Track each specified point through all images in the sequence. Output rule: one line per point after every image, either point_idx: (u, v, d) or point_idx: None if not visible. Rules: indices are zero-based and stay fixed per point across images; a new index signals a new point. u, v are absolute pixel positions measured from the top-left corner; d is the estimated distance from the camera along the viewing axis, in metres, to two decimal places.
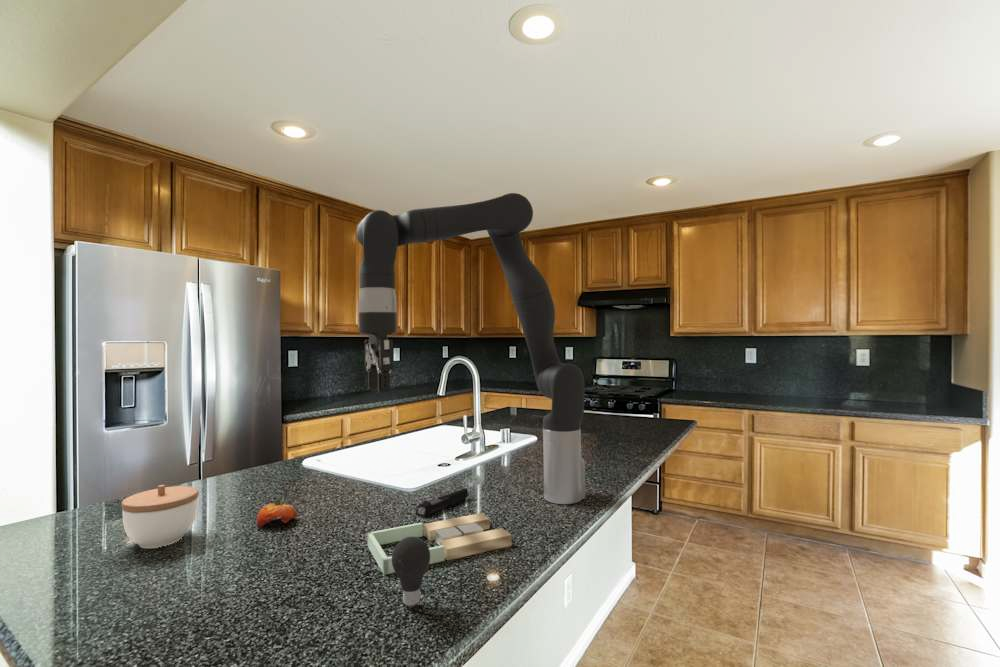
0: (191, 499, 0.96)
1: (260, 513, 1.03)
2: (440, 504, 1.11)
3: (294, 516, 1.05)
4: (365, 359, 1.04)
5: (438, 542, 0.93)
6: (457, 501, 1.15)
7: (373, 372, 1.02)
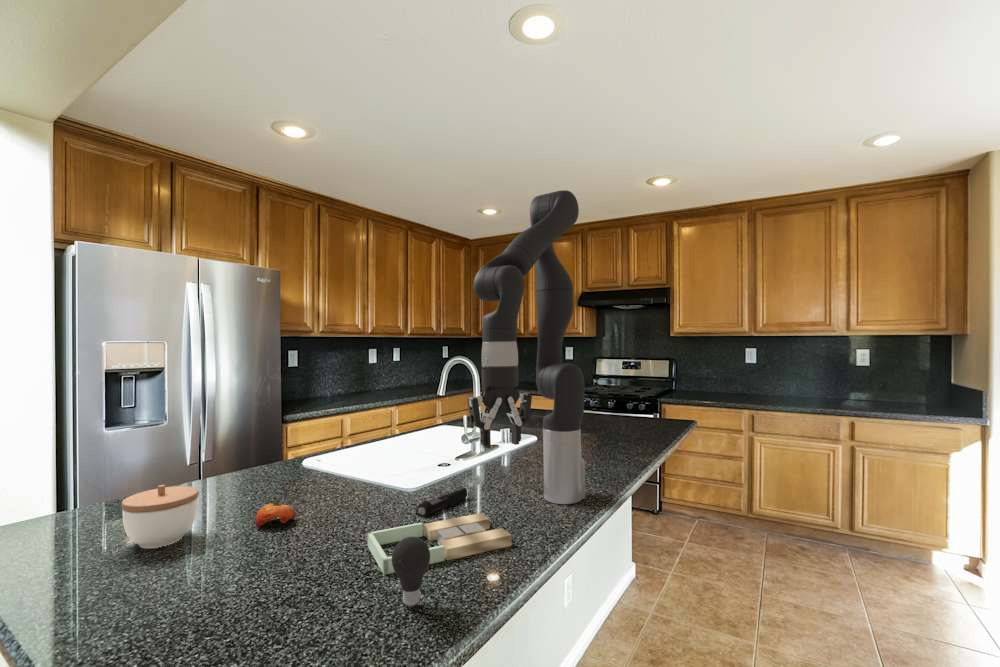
0: (191, 499, 0.96)
1: (259, 513, 1.03)
2: (440, 504, 1.11)
3: (293, 516, 1.05)
4: (477, 418, 0.96)
5: None
6: (456, 500, 1.16)
7: None
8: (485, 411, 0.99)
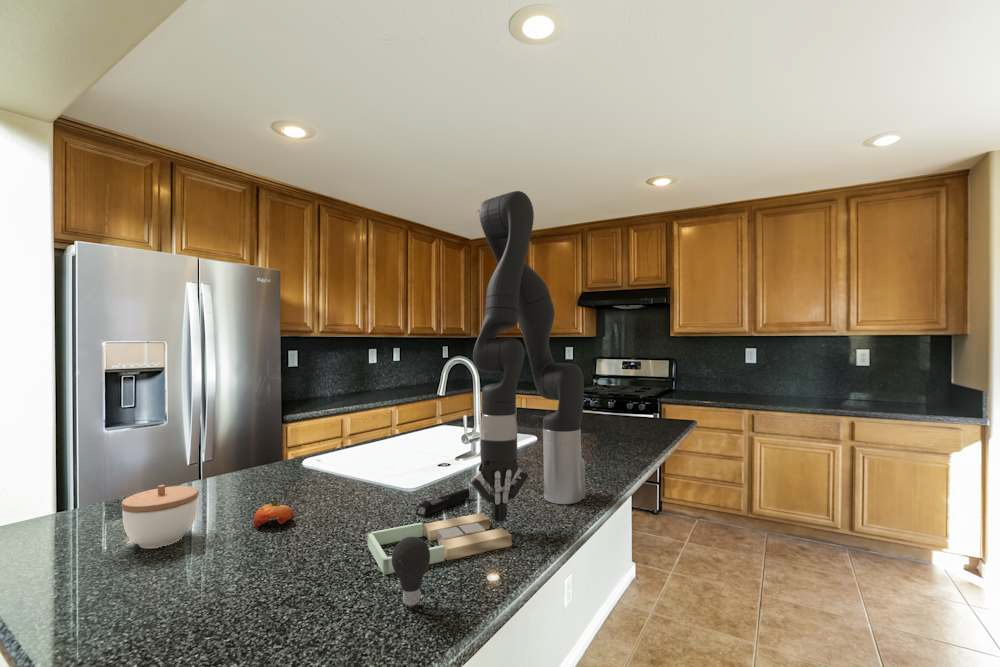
0: (191, 499, 0.96)
1: (257, 514, 1.03)
2: (440, 504, 1.11)
3: (291, 517, 1.05)
4: (486, 495, 0.96)
5: None
6: (458, 501, 1.15)
7: None
8: (490, 485, 0.99)
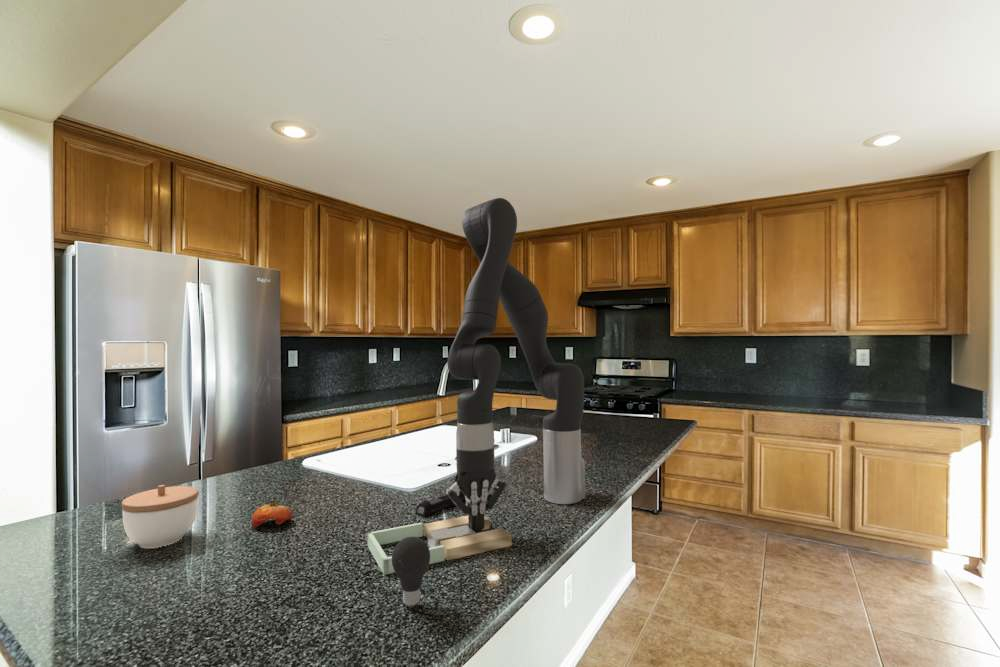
0: (191, 499, 0.96)
1: (255, 514, 1.02)
2: (440, 504, 1.11)
3: (289, 517, 1.04)
4: (462, 506, 0.94)
5: (431, 544, 0.92)
6: None
7: None
8: (467, 495, 0.97)
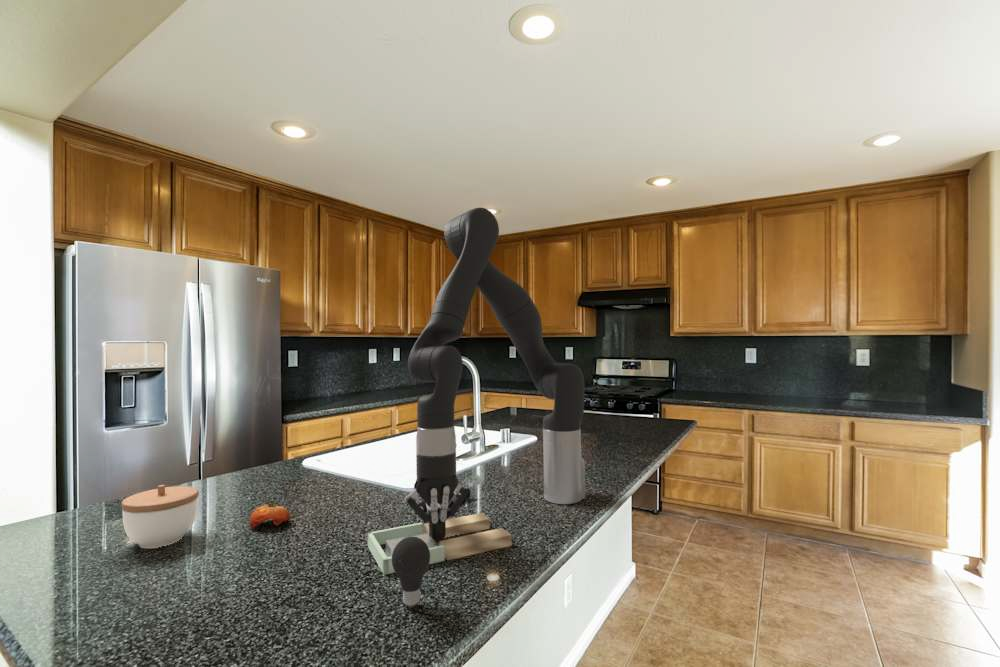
0: (191, 499, 0.96)
1: (253, 515, 1.02)
2: None
3: (287, 518, 1.04)
4: (422, 514, 0.90)
5: (388, 553, 0.88)
6: None
7: None
8: None
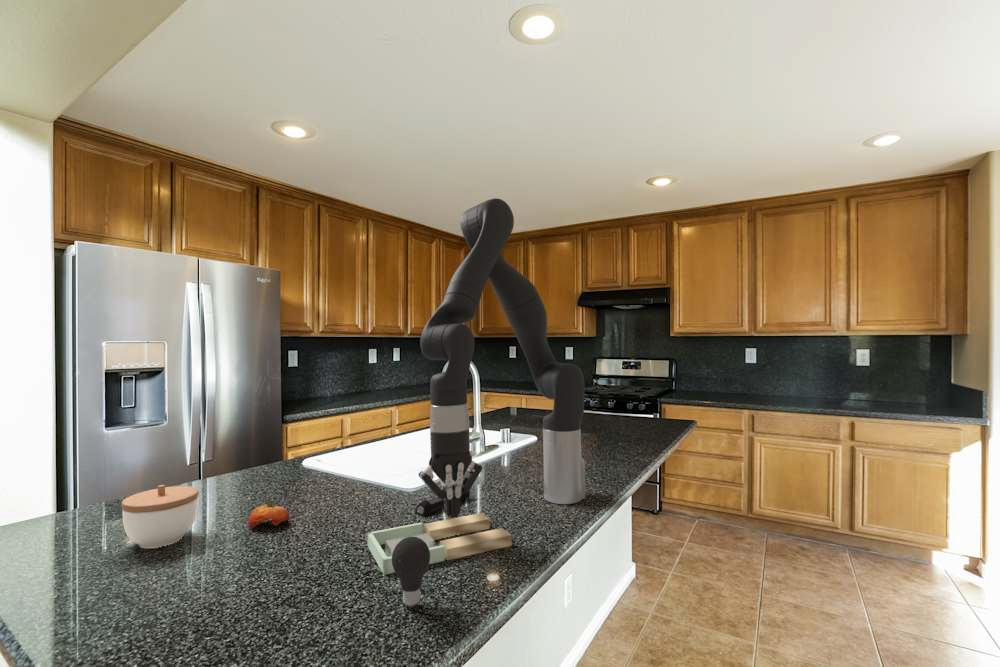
0: (191, 499, 0.96)
1: (252, 515, 1.02)
2: (439, 503, 1.12)
3: (286, 518, 1.04)
4: (437, 490, 0.91)
5: (387, 553, 0.88)
6: None
7: None
8: None
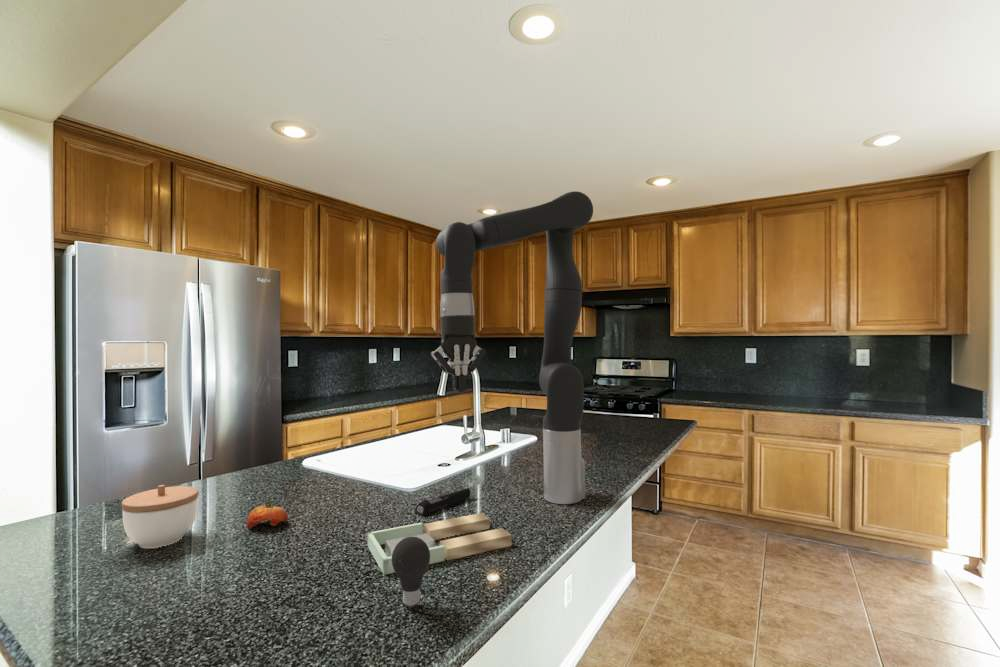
0: (191, 499, 0.96)
1: (250, 515, 1.02)
2: (439, 503, 1.12)
3: (284, 519, 1.03)
4: (447, 366, 1.05)
5: (387, 553, 0.88)
6: (458, 500, 1.16)
7: None
8: (450, 360, 1.08)
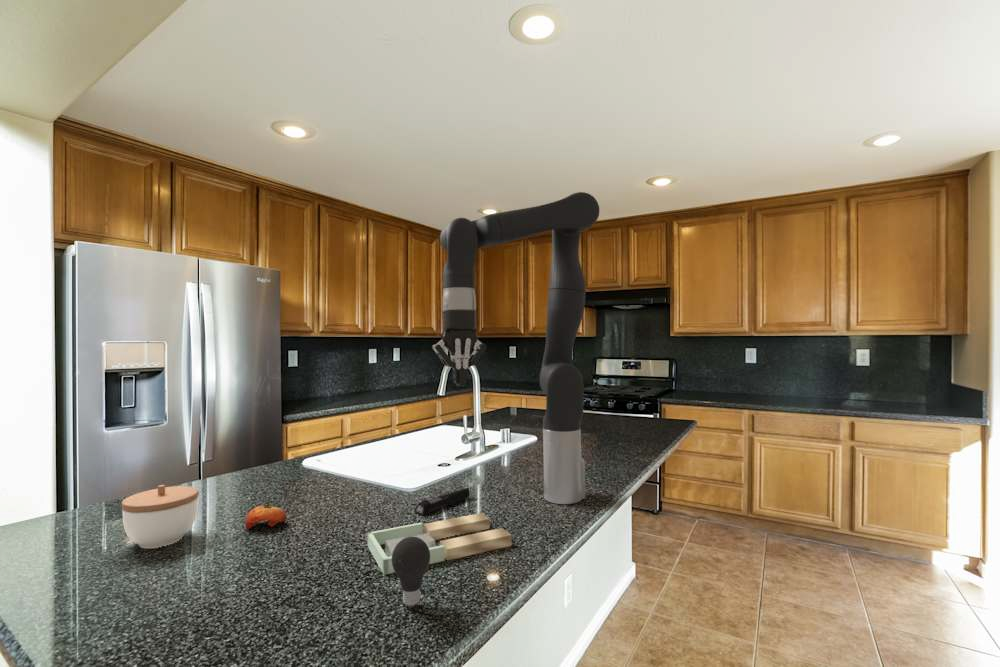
0: (191, 499, 0.96)
1: (248, 515, 1.02)
2: (439, 503, 1.12)
3: (282, 519, 1.03)
4: (447, 359, 1.07)
5: (387, 553, 0.88)
6: (457, 500, 1.16)
7: None
8: (452, 354, 1.10)
